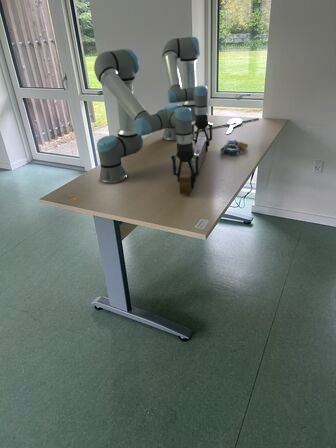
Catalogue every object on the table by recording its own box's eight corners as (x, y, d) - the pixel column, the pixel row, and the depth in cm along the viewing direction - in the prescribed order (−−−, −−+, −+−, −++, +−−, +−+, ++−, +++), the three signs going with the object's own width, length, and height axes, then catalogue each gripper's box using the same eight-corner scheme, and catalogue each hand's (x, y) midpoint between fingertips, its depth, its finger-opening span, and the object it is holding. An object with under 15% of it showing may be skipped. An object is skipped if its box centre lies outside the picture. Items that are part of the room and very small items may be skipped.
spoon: (235, 136, 245) (235, 133, 244) (220, 135, 249) (220, 132, 248) (243, 120, 272) (243, 117, 270) (230, 120, 275) (230, 117, 274)
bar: (199, 149, 217) (199, 136, 212) (207, 149, 216) (207, 136, 211) (180, 193, 164) (178, 177, 160) (190, 193, 163) (189, 177, 158)
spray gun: (250, 145, 220) (228, 144, 226) (250, 139, 217) (228, 138, 224) (241, 157, 204) (218, 155, 211) (242, 150, 202) (218, 149, 208)
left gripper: (163, 145, 155) (167, 190, 167) (202, 145, 150) (203, 191, 162) (167, 140, 161) (171, 184, 173) (205, 139, 156) (206, 185, 168)
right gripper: (185, 115, 199) (187, 153, 211) (215, 115, 194) (216, 153, 206) (187, 112, 205) (189, 149, 217) (217, 111, 201) (217, 149, 213)
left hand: (187, 187), depth 168 cm, fingers closed on bar, 5 cm apart
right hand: (202, 151), depth 212 cm, fingers closed on bar, 5 cm apart
